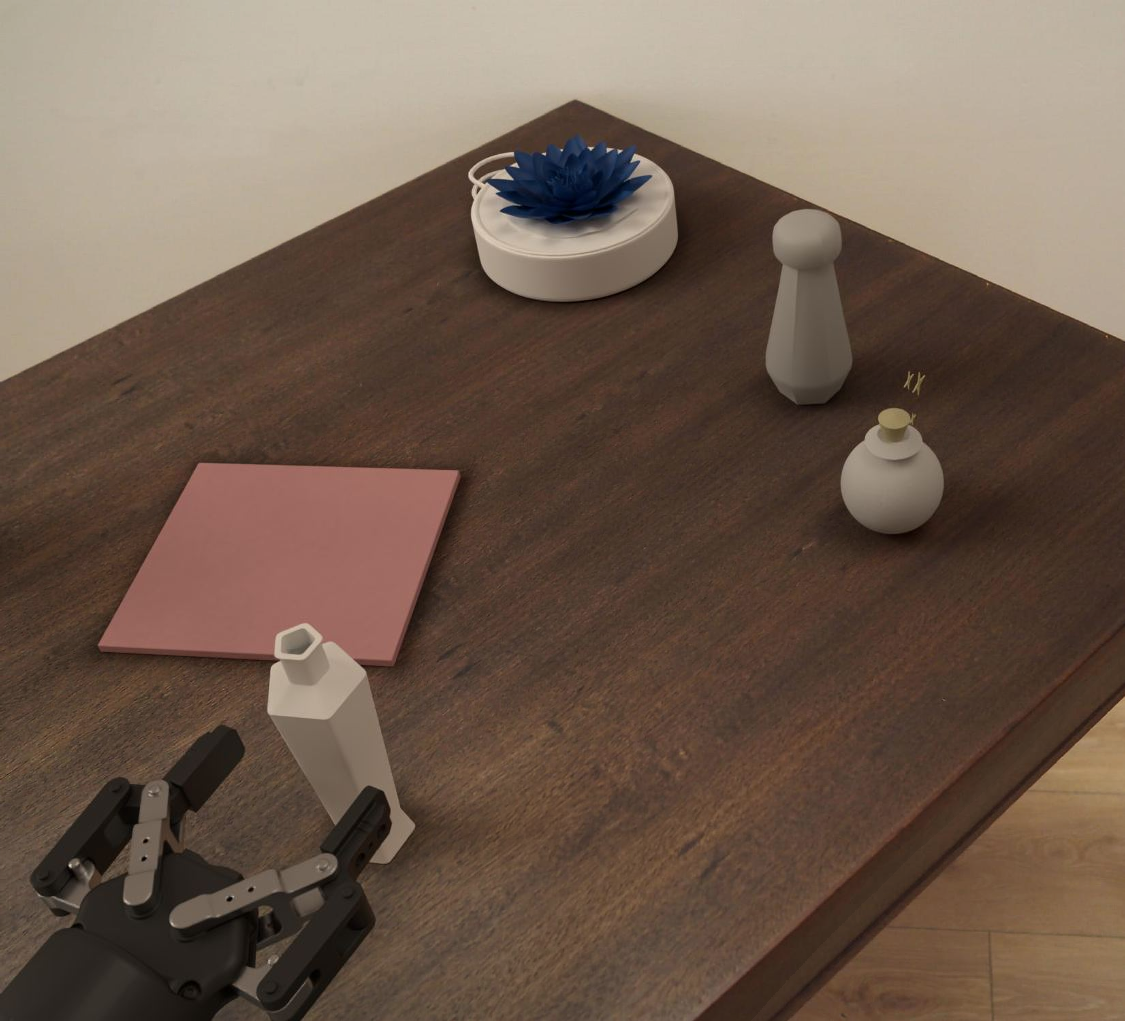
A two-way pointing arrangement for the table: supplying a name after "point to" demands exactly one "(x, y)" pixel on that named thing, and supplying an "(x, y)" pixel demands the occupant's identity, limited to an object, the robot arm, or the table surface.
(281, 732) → the perfume bottle
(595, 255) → the box with blue lotus
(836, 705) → the table surface
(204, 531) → the cosmetics mat
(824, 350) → the salt shaker
